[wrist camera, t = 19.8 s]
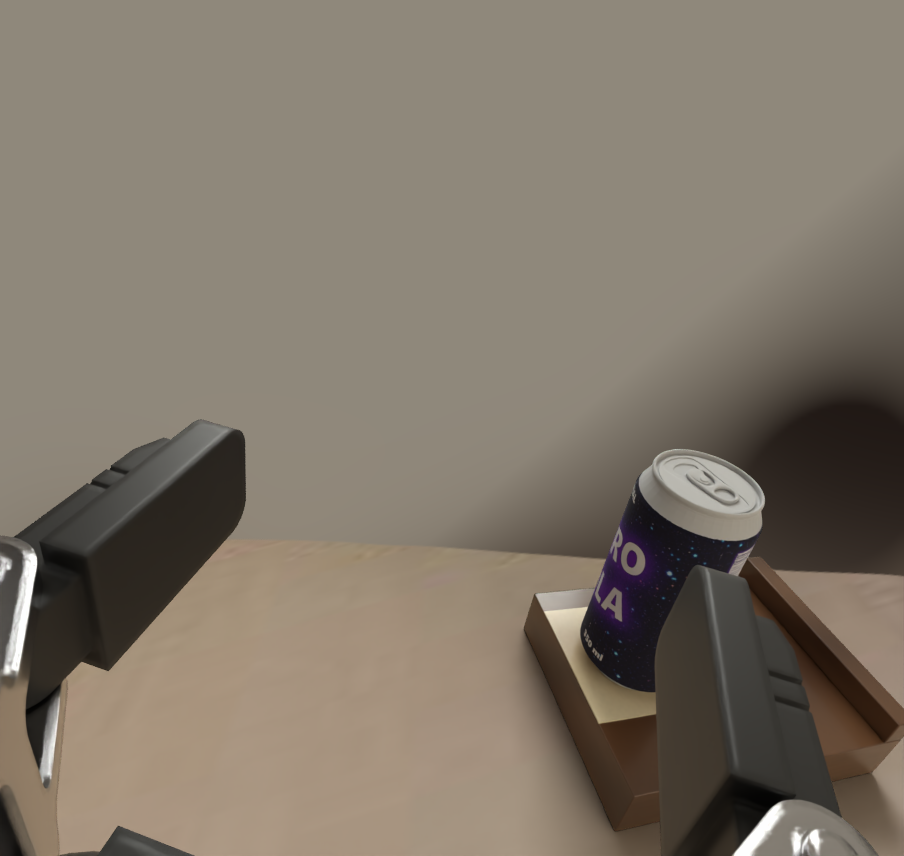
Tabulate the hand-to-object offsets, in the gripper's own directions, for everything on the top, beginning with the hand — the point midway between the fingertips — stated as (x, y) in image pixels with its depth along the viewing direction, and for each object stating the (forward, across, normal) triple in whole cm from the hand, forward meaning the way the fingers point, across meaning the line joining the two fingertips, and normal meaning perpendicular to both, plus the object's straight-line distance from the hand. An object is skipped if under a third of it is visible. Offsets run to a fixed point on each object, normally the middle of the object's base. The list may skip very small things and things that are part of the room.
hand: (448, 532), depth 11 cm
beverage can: (+17, -9, +19) cm, 27 cm away
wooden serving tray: (+18, -13, +22) cm, 32 cm away
